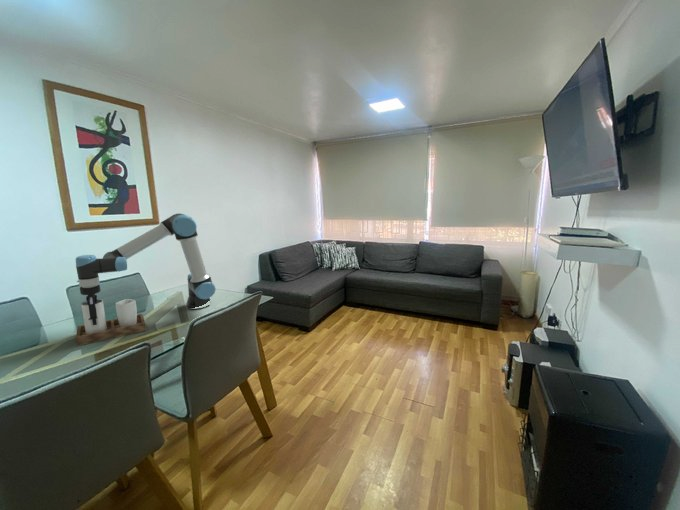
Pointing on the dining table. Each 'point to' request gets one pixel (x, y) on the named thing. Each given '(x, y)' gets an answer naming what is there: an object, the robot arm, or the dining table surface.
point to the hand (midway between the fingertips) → (95, 326)
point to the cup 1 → (100, 316)
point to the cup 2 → (126, 312)
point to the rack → (109, 331)
